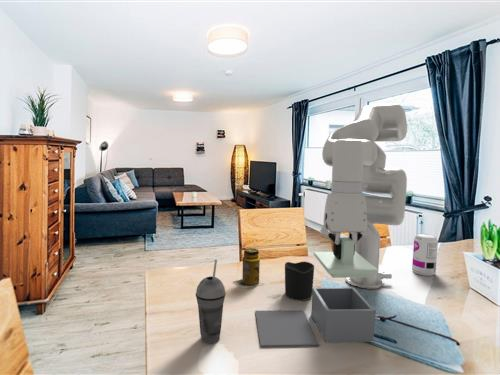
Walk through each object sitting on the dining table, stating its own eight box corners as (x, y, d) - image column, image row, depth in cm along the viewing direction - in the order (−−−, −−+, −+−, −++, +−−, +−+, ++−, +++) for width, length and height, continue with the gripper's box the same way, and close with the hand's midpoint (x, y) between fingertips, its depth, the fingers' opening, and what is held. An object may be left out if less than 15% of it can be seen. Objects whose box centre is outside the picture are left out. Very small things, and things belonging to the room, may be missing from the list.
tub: (352, 313, 93) (353, 287, 92) (373, 341, 79) (375, 310, 78) (311, 314, 92) (312, 287, 91) (325, 342, 78) (326, 311, 77)
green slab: (355, 260, 91) (356, 230, 90) (377, 279, 77) (379, 245, 76) (313, 260, 91) (314, 231, 90) (328, 280, 77) (330, 245, 76)
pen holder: (306, 304, 98) (307, 272, 97) (279, 296, 103) (279, 266, 102) (317, 293, 106) (318, 264, 105) (291, 286, 111) (292, 258, 110)
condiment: (264, 284, 113) (264, 251, 112) (243, 289, 108) (244, 254, 107) (252, 277, 119) (253, 246, 118) (233, 282, 114) (233, 249, 113)
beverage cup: (196, 331, 82) (196, 255, 80) (225, 330, 82) (226, 254, 81) (194, 348, 75) (194, 265, 73) (225, 347, 75) (226, 264, 73)
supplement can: (413, 274, 125) (415, 237, 124) (411, 267, 133) (413, 232, 131) (436, 277, 122) (439, 239, 120) (433, 270, 130) (436, 234, 128)
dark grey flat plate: (303, 311, 93) (303, 310, 93) (319, 346, 76) (319, 344, 76) (255, 312, 92) (255, 310, 92) (260, 347, 75) (260, 345, 75)
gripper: (371, 186, 86) (367, 253, 88) (311, 186, 85) (309, 253, 87) (384, 189, 78) (380, 262, 80) (319, 189, 77) (317, 263, 80)
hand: (343, 257), depth 84 cm, fingers closed on green slab, 2 cm apart
